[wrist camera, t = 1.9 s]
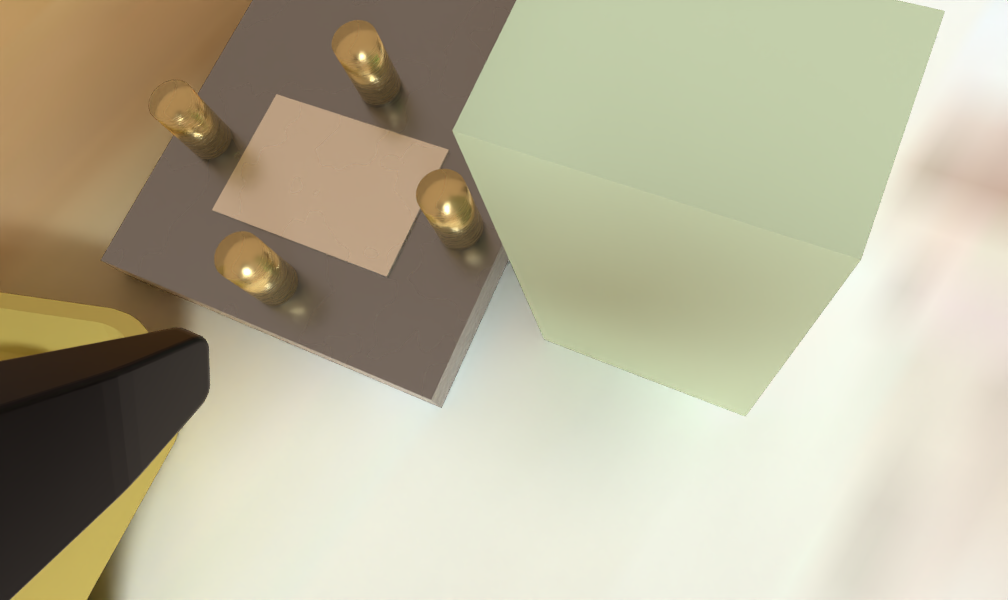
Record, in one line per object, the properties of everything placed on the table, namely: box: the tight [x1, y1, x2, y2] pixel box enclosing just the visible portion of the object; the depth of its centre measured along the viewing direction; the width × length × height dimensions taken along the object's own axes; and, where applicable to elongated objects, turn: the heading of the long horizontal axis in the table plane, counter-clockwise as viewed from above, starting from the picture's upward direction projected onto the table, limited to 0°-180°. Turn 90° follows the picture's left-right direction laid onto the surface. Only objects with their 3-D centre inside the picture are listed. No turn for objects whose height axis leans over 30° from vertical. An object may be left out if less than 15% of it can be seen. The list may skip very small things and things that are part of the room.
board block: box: [452, 0, 945, 416], centre depth 17 cm, size 4×6×12 cm, turn 66°
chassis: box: [101, 0, 516, 408], centre depth 24 cm, size 14×12×4 cm
